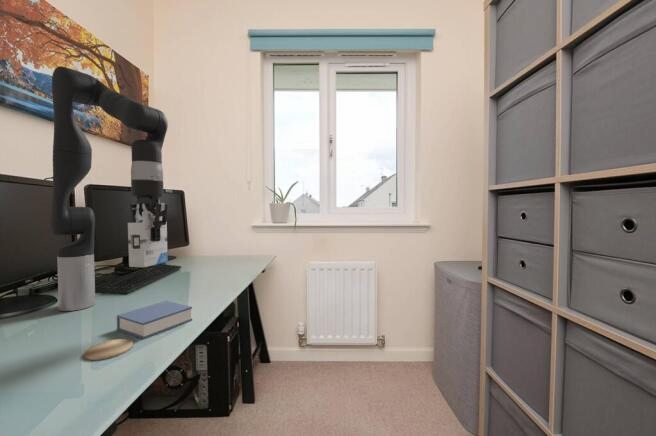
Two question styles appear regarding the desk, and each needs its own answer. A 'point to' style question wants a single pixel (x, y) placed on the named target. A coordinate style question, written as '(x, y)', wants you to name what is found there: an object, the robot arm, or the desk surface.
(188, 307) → the navy book
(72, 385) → the desk surface
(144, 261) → the ink box
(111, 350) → the cork coaster
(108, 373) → the desk surface
